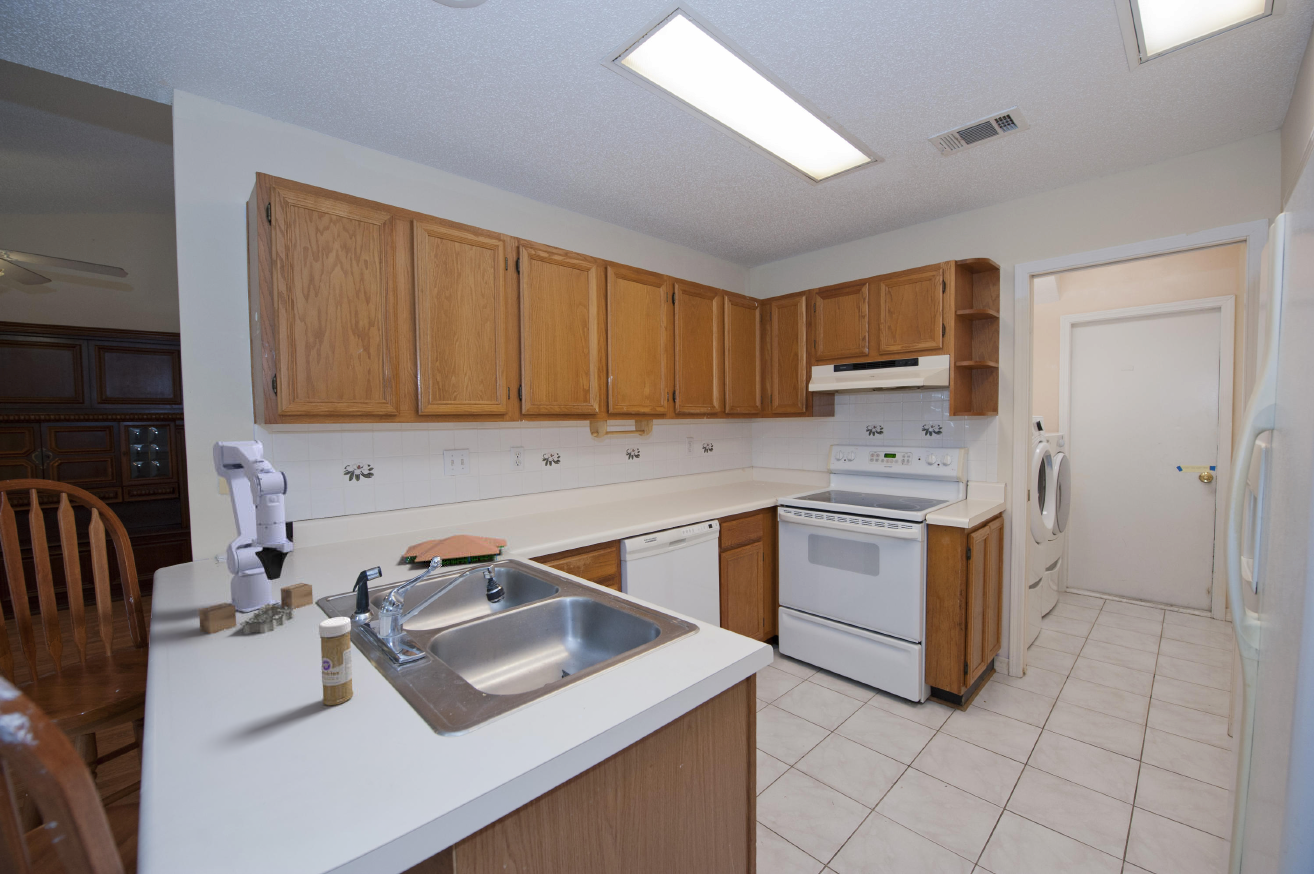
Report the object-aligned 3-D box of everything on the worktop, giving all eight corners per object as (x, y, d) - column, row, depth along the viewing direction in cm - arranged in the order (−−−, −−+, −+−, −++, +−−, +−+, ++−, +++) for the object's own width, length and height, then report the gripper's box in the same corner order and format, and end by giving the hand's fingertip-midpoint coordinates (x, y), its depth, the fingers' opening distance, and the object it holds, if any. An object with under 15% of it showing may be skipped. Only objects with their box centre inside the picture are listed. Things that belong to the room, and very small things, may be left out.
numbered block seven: (200, 630, 124) (198, 608, 123) (225, 623, 128) (224, 601, 128) (210, 634, 121) (209, 611, 121) (236, 626, 126) (235, 604, 125)
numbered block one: (281, 607, 138) (280, 587, 138) (302, 601, 143) (301, 581, 143) (292, 610, 136) (291, 589, 136) (312, 603, 140) (311, 584, 140)
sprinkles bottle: (316, 706, 88) (312, 626, 88) (333, 692, 93) (329, 616, 92) (344, 706, 88) (340, 625, 88) (359, 691, 93) (356, 615, 92)
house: (508, 561, 179) (507, 537, 178) (399, 573, 169) (398, 547, 168) (505, 546, 200) (504, 524, 200) (409, 555, 190) (408, 533, 190)
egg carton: (269, 618, 131) (269, 601, 131) (300, 617, 131) (299, 600, 131) (235, 635, 121) (235, 617, 120) (269, 634, 121) (268, 616, 120)
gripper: (236, 523, 129) (239, 579, 129) (268, 528, 122) (271, 587, 122) (268, 518, 135) (271, 571, 135) (301, 522, 128) (304, 578, 128)
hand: (273, 578), depth 129 cm, fingers closed
